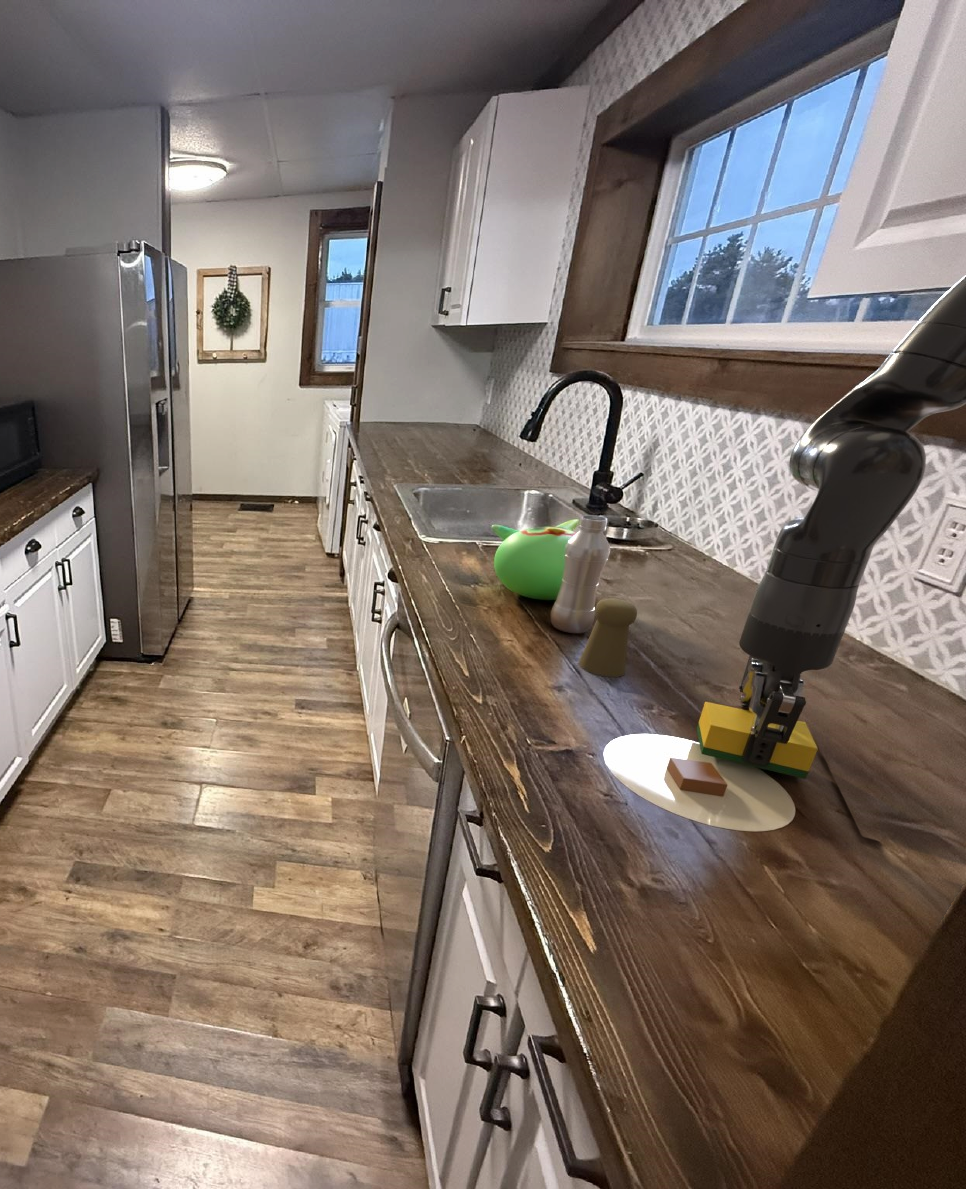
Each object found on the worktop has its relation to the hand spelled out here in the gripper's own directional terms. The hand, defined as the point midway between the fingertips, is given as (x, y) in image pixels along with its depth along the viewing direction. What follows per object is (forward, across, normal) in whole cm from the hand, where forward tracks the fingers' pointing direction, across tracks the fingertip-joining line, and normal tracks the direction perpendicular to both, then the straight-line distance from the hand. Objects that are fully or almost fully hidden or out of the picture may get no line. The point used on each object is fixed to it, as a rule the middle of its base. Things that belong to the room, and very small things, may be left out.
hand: (749, 748), depth 73 cm
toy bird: (+3, +48, +25) cm, 54 cm away
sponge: (+1, 0, 0) cm, 1 cm away
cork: (+3, +20, +14) cm, 25 cm away
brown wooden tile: (+2, -8, +5) cm, 10 cm away
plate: (+3, -7, +5) cm, 9 cm away
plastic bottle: (+3, +33, +19) cm, 38 cm away
